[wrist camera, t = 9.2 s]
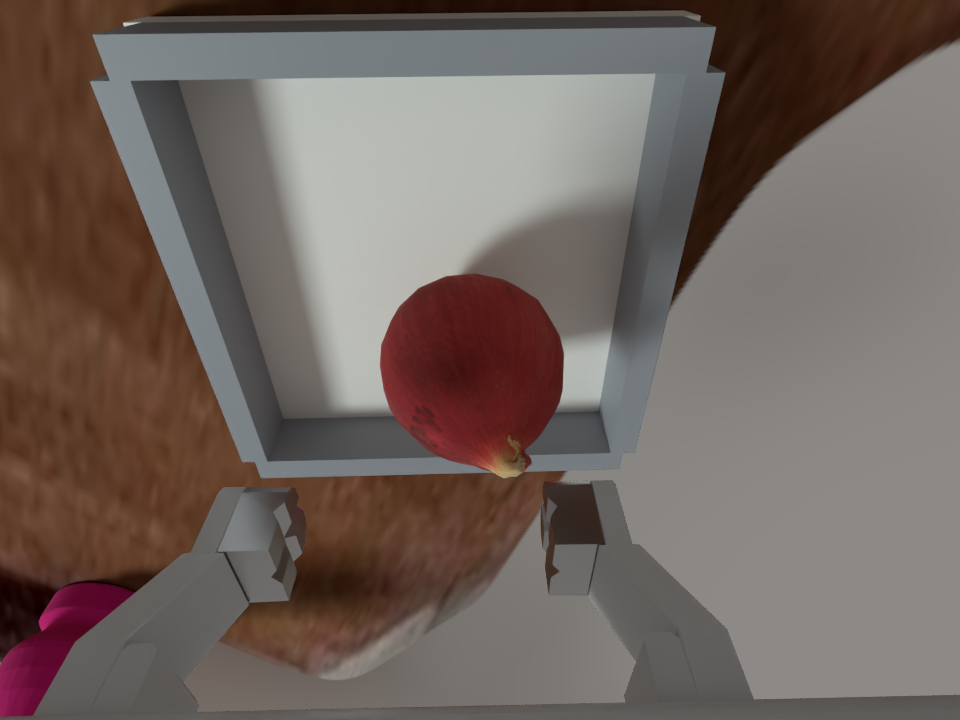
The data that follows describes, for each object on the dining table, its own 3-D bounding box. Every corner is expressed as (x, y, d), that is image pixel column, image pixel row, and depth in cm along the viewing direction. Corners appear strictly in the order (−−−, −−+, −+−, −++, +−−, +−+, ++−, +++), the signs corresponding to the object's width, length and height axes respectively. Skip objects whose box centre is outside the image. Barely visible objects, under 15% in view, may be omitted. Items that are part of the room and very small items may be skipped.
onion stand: (147, 16, 16) (71, 34, 13) (683, 10, 16) (736, 27, 13) (275, 412, 26) (249, 478, 23) (610, 405, 26) (631, 469, 23)
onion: (456, 367, 23) (506, 543, 18) (337, 314, 20) (355, 515, 14) (555, 273, 21) (647, 446, 15) (439, 193, 17) (507, 381, 12)
